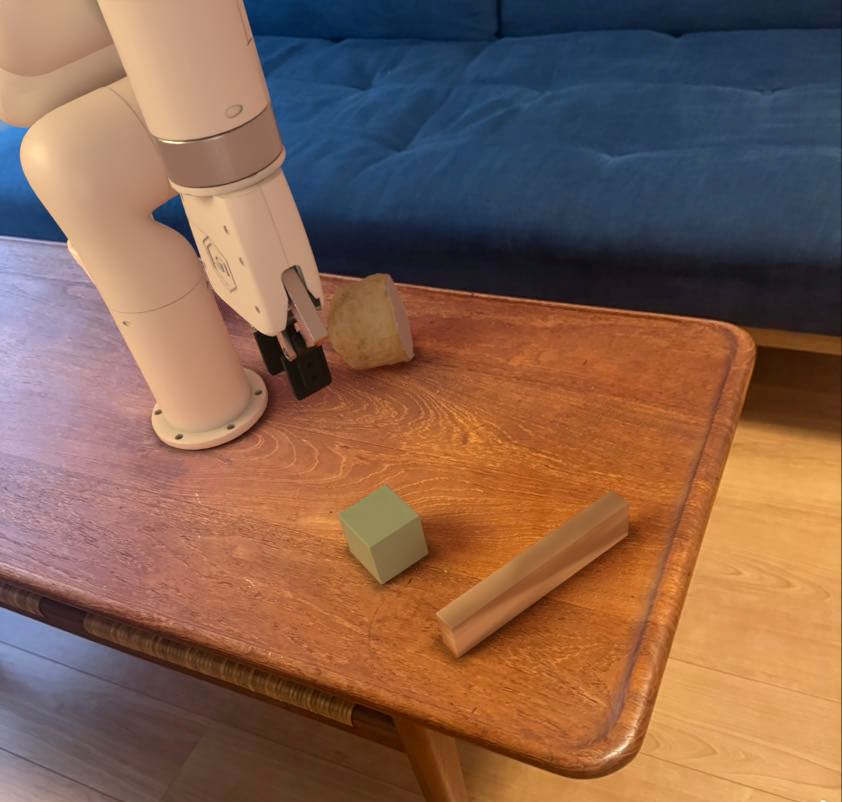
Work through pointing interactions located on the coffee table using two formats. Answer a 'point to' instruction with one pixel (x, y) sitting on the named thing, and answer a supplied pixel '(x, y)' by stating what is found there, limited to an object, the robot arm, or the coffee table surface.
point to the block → (384, 533)
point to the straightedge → (533, 573)
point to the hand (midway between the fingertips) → (299, 376)
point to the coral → (370, 323)
